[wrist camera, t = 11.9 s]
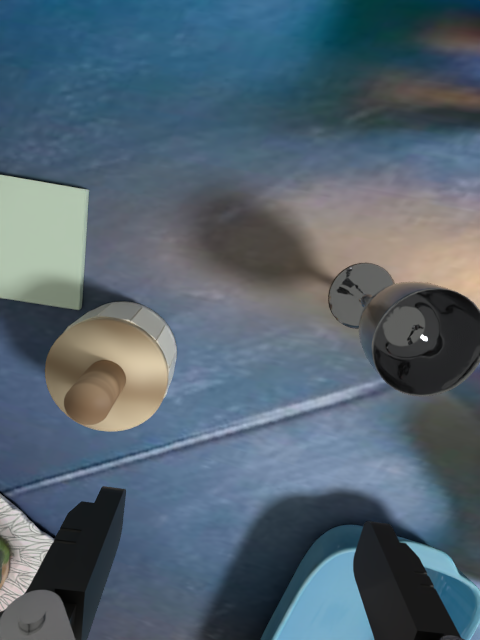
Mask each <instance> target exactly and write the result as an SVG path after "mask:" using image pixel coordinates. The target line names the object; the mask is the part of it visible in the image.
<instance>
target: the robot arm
mask: <svg viewBox="0 0 480 640" xmlns="http://www.w3.org/2000/svg"><path fill="white" fill-rule="evenodd" d="M125 496H126V489H120V488H112V487H104V486H103V487H102V488H101V490H100V492H99V494H98V496H97V498H96V501H95V503H89V502H80V503H79V504H78V505H77V506H76V507H75V508H74V509H72V510H71V511H70V512H69V513H68V515H67V516H66V518H65V520H64V522H63V524H62V526H61V528H60V530H59V531H58V533H57V535H56V537H55V539H54V542H53V543H52V545H51V546H50V548H49V550H48V552H47V554H46V556H45V558H44V559H43V561H42V563H41V565H40V567H39V569H38V571H37V573H36V574H35V576H34V578H33V580H32V582H31V584H30V586H29V587H28V589H27V591H26V592H25V593H24V595H22V596H20V597H18V598H17V599H15V600H14V601H13V602H12V603H11V604H10V605H9V606H8V607H7V608H6V609H5V610H3V611H1V612H0V640H87V638H88V635H89V632H90V629H91V626H92V623H93V620H94V617H95V614H96V611H97V608H98V605H99V602H100V599H101V596H102V593H103V590H104V587H105V584H106V581H107V578H108V575H109V572H110V569H111V566H112V563H113V560H114V557H115V554H116V551H117V548H118V545H119V541H120V537H121V532H122V525H123V515H124V506H125ZM353 572H354V577H355V581H356V584H357V587H358V590H359V593H360V596H361V599H362V602H363V605H364V609H365V612H366V615H367V618H368V621H369V624H370V627H371V630H372V633H373V636H374V639H375V640H465V639H463V638H461V636H460V634H459V632H458V631H457V629H456V627H455V625H454V623H453V621H452V619H451V617H450V615H449V613H448V612H447V610H446V608H445V606H444V604H443V602H442V600H441V598H440V596H439V594H438V593H437V591H436V589H434V585H433V583H432V581H431V579H430V577H429V576H427V572H426V570H425V568H424V566H423V564H422V562H421V560H420V558H419V557H418V556H417V555H416V554H415V552H414V551H413V550H412V549H411V548H410V547H409V546H408V545H407V544H406V543H401V542H399V540H398V538H397V536H396V534H395V532H394V530H393V528H392V526H391V525H390V524H386V523H378V522H370V521H366V522H365V524H364V526H363V529H362V532H361V535H360V539H359V542H358V545H357V548H356V551H355V555H354V559H353Z"/></svg>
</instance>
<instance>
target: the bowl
mask: <svg viewBox="0 0 480 640" xmlns="http://www.w3.org/2000/svg"><path fill="white" fill-rule="evenodd" d="M97 317H113V318H119V319H123V320H126V321H129V322H131V323H133V324H135V325H137V326H139V327H141V328H142V329H144V330H145V331H146V332H147V333H149V334H150V335H151V336H152V337H153V338H154V339H155V340H156V342H157V343H158V345H159V346H160V347H161V349H162V351H163V353H164V355H165V358H166V361H167V365H168V373H169V377H168V385H167V389H166V392H165V395H164V397H165V396H166V394H167V391H168V388H169V385H170V382H171V380H172V377H173V374H174V367H175V363H176V358H177V347H176V341H175V338H174V335H173V333H172V331H171V329H170V327H169V326H168V324H167V323H166V322H165V321H164V319H163V318H162V317H161V316H159V315H158V314H157V313H156V312H154V311H153V310H151V309H150V308H148V307H146V306H143V305H141V304H138V303H133V302H126V301H117V302H111V303H107V304H104V305H102V306H100V307H98V308H96V309H94V310H91V311H89V312H87V313H86V314H85V315H83V316H82V317H80V318H79V319H78V320H76V321H75V322H74V323H72V324H71V325H70V326H68V327H67V329H66V330H65V331H67V330H68V329H69V328H71V327H72V326H74V325H76V324H77V323H79V322H82V321H84V320H87V319H91V318H97ZM65 331H64V332H65Z"/></svg>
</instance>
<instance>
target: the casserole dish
mask: <svg viewBox="0 0 480 640" xmlns="http://www.w3.org/2000/svg"><path fill="white" fill-rule="evenodd" d="M362 529H363V526H359V525H342V526H337V527H335V528H332V529H330V530H329V531H327V532H325V533H324V534H323V535H321V536H320V537H319V538H318V539H317V540H316V541H315V542H314V544H313V545H312V546H311V547H310V549H309V550H308V552H307V553H306V555H305V556H304V558H303V559H302V561H301V563H300V565H299V566H298V568H297V570H296V572H295V574H294V576H293V578H292V579H291V581H290V583H289V585H288V587H287V589H286V591H285V593H284V595H283V597H282V598H281V600H280V602H279V604H278V606H277V608H276V610H275V612H274V614H273V615H272V617H271V619H270V621H269V623H268V625H267V627H266V629H265V631H264V633H263V635H262V637H261V639H260V640H375V639H374V636H373V633H372V630H371V627H370V624H369V621H368V618H367V615H366V612H365V609H364V605H363V602H362V599H361V596H360V593H359V590H358V587H357V584H356V581H355V577H354V572H353V559H354V555H355V551H356V548H357V545H358V542H359V539H360V535H361V532H362ZM397 538H398V540H399V542H401V543H406V544H407V545H408V546H409V547H410V548H411V549H412V550H413V551H414V552H415V554H416V555H417V556H418V557H419V558H420V560H421V562H422V564H423V566H424V568H425V570H426V572H427V576H429V577H430V579H431V581H432V583H433V585H434V589H436V591H437V593H438V594H439V596H440V598H441V600H442V602H443V604H444V606H445V608H446V610H447V612H448V613H449V615H450V617H451V619H452V621H453V623H454V625H455V627H456V629H457V631H458V632H459V634H460V636H461V638H463V639H465V640H470V639H471V637H472V636H473V634H474V632H475V630H476V629H477V627H478V625H479V623H480V590H479V589H478V588H477V586H476V585H475V584H474V583H473V582H471V581H470V580H469V579H468V578H467V577H466V576H465V575H464V574H463V573H462V572H461V571H459V570H458V569H457V568H456V566H455V564H454V562H453V561H452V559H451V558H450V557H449V556H448V555H447V554H446V553H445V552H443V551H441V550H439V549H436V548H434V547H431V546H429V545H426V544H422V543H419V542H415V541H411V540H408V539H405V538H402V537H398V536H397Z"/></svg>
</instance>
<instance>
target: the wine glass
mask: <svg viewBox="0 0 480 640" xmlns="http://www.w3.org/2000/svg"><path fill="white" fill-rule="evenodd" d="M329 305H330V309H331V311H332V313H333V315H334V317H335V318H336V319H337V320H338V321H339V322H340V323H342V324H343V325H345V326H347V327H350V328H355V329H359V337H360V342H361V345H362V348H363V350H364V353H365V355H366V357H367V359H368V360H369V362H370V364H371V365H372V366H373V368H374V369H375V371H376V372H377V373H378V374H379V375H380V376H381V377H382V378H383V380H384V381H385V382H386V383H387V384H389V385H390V386H391V387H393V388H394V389H395V390H398V391H400V392H402V393H404V394H408V395H412V396H433V395H437V394H441V393H444V392H446V391H449V390H451V389H453V388H454V387H456V386H458V385H459V384H461V383H462V382H463V381H465V380H466V379H467V378H468V377H469V376H470V375H471V374H472V373H473V372H474V370H475V369H476V367H477V366H478V364H479V363H480V310H479V309H478V307H477V306H476V305H475V304H474V303H473V302H472V301H471V300H469V299H468V298H467V297H465V296H463V295H461V294H459V293H458V292H456V291H453V290H451V289H448V288H445V287H441V286H438V285H435V284H431V283H423V282H401V283H396V284H395V283H394V280H393V279H392V277H391V275H390V274H389V273H388V272H387V271H386V270H385V269H383V268H382V267H380V266H378V265H375V264H371V263H360V264H356V265H353V266H350V267H348V268H347V269H345V270H344V271H342V272H341V273H340V274H339V275H338V276H337V278H336V279H335V280H334V282H333V284H332V286H331V289H330V293H329Z"/></svg>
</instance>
